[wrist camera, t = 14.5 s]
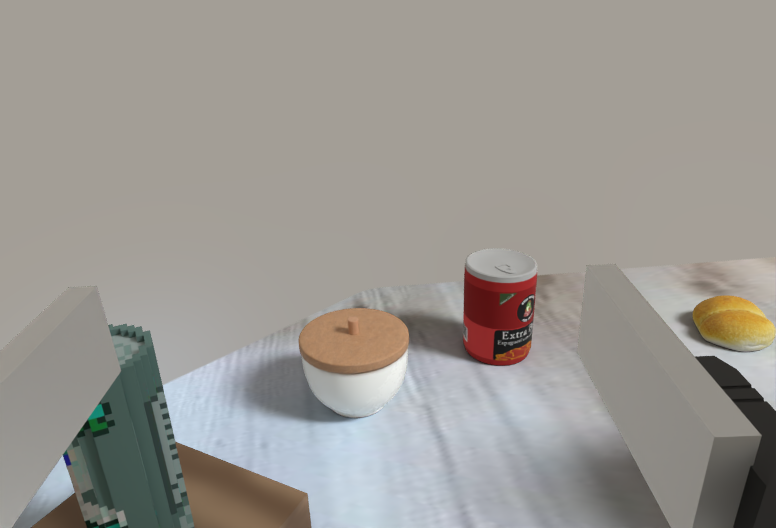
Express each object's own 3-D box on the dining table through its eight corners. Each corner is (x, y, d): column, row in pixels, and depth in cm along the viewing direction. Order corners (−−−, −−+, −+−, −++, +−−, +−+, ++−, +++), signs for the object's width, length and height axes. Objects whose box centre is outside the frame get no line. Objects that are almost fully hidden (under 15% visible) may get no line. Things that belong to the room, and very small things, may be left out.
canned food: (502, 375, 63) (507, 284, 58) (448, 346, 68) (449, 261, 64) (544, 349, 67) (553, 262, 63) (491, 324, 73) (495, 242, 68)
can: (97, 522, 41) (39, 340, 35) (186, 491, 44) (146, 316, 38) (100, 592, 36) (34, 394, 30) (200, 552, 39) (157, 362, 33)
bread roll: (707, 353, 66) (714, 322, 64) (684, 314, 74) (689, 286, 72) (787, 357, 65) (796, 326, 63) (755, 318, 73) (762, 289, 71)
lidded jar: (430, 392, 61) (430, 312, 57) (362, 450, 53) (357, 363, 49) (353, 358, 67) (349, 284, 63) (283, 405, 59) (273, 325, 56)
